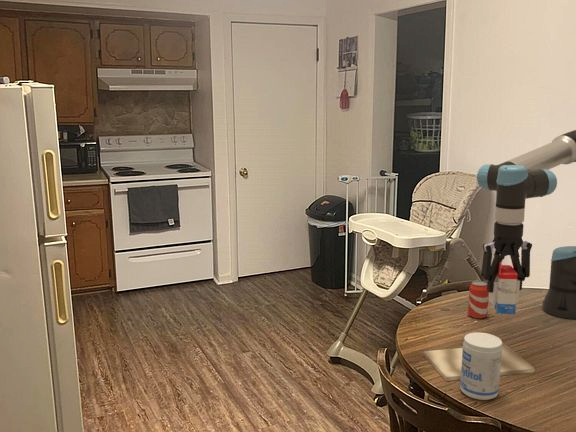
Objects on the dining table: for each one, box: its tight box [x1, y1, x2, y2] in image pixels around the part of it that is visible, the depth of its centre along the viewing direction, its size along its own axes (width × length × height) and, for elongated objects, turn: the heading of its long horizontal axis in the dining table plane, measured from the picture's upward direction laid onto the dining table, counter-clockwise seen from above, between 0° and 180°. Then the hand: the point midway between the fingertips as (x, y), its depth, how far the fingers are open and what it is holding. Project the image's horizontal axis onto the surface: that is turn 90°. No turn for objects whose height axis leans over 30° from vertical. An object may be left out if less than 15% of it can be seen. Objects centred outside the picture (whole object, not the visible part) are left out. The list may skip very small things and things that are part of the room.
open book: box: [422, 343, 536, 382], centre depth 166 cm, size 26×16×2 cm, turn 99°
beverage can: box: [467, 280, 489, 320], centre depth 199 cm, size 6×6×12 cm
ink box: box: [492, 261, 518, 315], centre depth 162 cm, size 8×5×15 cm, turn 172°
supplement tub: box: [459, 332, 503, 401], centre depth 149 cm, size 10×10×15 cm
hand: (503, 301), depth 163 cm, fingers closed on ink box, 6 cm apart
